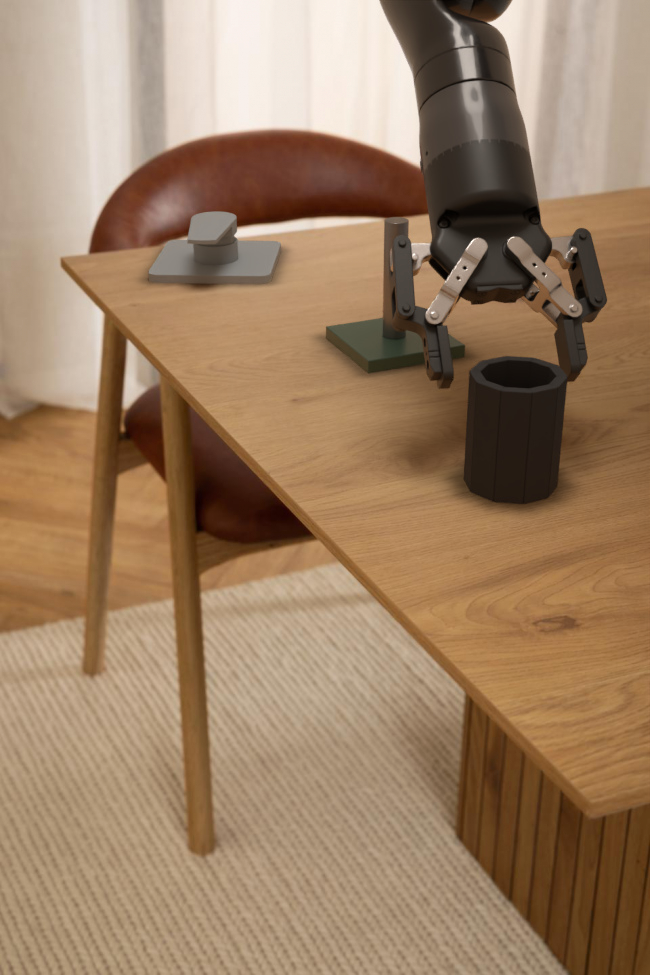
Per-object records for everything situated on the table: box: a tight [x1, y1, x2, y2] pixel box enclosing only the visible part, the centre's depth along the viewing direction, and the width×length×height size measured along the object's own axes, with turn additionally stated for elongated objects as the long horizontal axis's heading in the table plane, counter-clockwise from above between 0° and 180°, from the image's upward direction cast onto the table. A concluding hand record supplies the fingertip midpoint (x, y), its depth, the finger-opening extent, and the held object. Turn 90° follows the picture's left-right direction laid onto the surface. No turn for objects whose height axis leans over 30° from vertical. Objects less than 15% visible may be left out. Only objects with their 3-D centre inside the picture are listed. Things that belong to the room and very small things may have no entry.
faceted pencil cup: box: [463, 355, 568, 505], centre depth 78 cm, size 6×6×8 cm
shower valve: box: [147, 210, 282, 285], centre depth 121 cm, size 12×6×15 cm
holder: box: [325, 216, 466, 374], centre depth 100 cm, size 9×9×11 cm
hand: (509, 381), depth 78 cm, fingers open, 8 cm apart
